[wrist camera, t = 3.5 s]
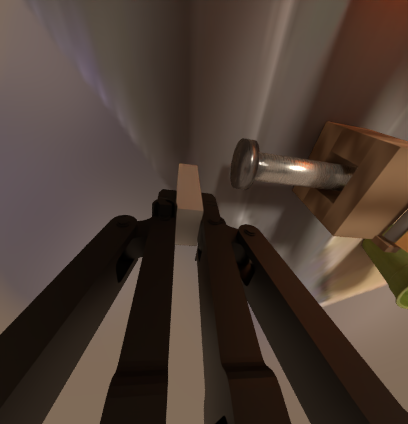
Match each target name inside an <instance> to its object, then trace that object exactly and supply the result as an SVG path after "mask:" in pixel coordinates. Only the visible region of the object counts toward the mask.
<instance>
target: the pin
mask: <svg viewBox="0 0 408 424" xmlns="http://www.w3.org/2000/svg"><path fill="white" fill-rule="evenodd" d="M357 168H358V167H354V166H347V165H341V164H334V163H327V162H321V161H314V160H307V159H301V158H294V157H287V156H281V155H274V154H267V153H261V152H259V145H258V143H257V141H255V140H250V139H244V138H242V139H241V140H240V141H239V142H238V144H237V146H236V148H235V151H234V154H233V158H232V163H231V172H230V178H231V184H232V187H233V188H236V189H244V190H246V189H248V188H249V187H250V186H251V185H252V183H253V181H262V182H270V183H279V184H287V185H295V186H303V187H311V188H319V189H327V190H335V191H342V190H343V189H344V187H345V186H346V184H347V183H348V181H349V180H350V178H351V177H352V175H353V174H354V172H355V171H356V169H357Z"/></svg>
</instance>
